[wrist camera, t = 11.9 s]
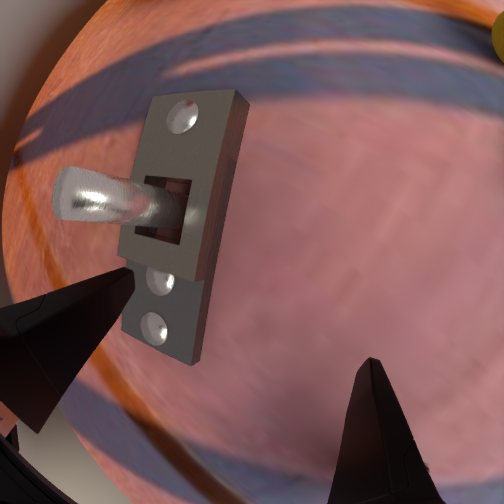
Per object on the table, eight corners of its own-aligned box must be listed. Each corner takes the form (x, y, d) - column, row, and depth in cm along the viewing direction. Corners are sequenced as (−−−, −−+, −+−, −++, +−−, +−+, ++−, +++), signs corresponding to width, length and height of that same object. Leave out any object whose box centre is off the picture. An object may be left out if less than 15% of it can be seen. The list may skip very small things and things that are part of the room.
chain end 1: (213, 278, 24) (192, 282, 21) (138, 254, 27) (115, 255, 24) (249, 104, 23) (234, 87, 20) (170, 107, 26) (151, 96, 23)
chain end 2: (199, 360, 25) (189, 367, 23) (131, 327, 28) (119, 330, 26) (236, 161, 23) (227, 156, 22) (157, 157, 26) (146, 152, 25)
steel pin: (193, 232, 25) (71, 223, 13) (165, 226, 26) (48, 215, 14) (200, 196, 24) (82, 165, 13) (172, 192, 26) (57, 165, 14)
